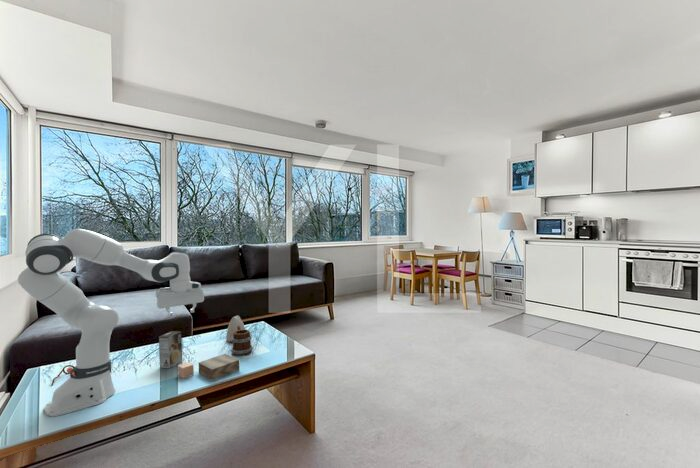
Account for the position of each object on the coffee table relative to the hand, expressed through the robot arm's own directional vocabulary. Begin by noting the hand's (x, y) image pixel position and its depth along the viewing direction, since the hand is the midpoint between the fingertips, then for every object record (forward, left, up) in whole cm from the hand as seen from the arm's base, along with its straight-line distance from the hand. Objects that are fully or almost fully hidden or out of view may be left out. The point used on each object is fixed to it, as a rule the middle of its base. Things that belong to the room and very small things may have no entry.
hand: (181, 314), depth 156 cm
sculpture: (+43, +24, -30) cm, 58 cm away
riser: (+12, -11, -29) cm, 34 cm away
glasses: (-34, +39, -30) cm, 60 cm away
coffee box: (+1, +17, -30) cm, 34 cm away
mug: (+33, +3, -30) cm, 45 cm away
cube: (0, -2, -29) cm, 29 cm away
